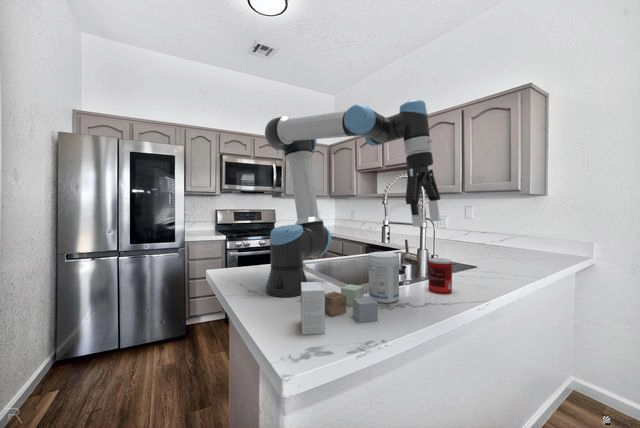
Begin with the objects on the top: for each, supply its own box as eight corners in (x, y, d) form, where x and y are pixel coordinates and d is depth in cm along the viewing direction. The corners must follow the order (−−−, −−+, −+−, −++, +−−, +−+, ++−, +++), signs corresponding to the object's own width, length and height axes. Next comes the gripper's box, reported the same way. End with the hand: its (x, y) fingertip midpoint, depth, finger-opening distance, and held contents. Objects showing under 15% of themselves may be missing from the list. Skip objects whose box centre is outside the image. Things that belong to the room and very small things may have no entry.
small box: (300, 321, 74) (300, 281, 73) (322, 320, 74) (321, 281, 74) (301, 335, 66) (300, 290, 65) (325, 334, 66) (324, 289, 66)
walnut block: (321, 312, 80) (321, 294, 80) (334, 308, 83) (334, 291, 83) (332, 317, 76) (332, 299, 76) (346, 313, 79) (346, 295, 79)
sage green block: (341, 303, 87) (340, 287, 87) (349, 299, 91) (349, 284, 91) (355, 307, 84) (354, 290, 84) (363, 302, 88) (362, 286, 88)
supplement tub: (388, 293, 97) (387, 250, 97) (405, 301, 88) (405, 255, 88) (363, 296, 94) (363, 252, 93) (378, 305, 85) (378, 257, 84)
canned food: (447, 287, 103) (447, 257, 102) (455, 294, 95) (455, 262, 94) (425, 287, 103) (425, 257, 103) (432, 294, 95) (432, 261, 95)
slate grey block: (353, 316, 77) (352, 298, 77) (370, 314, 78) (369, 296, 78) (359, 323, 72) (359, 304, 72) (377, 321, 73) (377, 302, 73)
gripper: (413, 147, 73) (423, 228, 73) (445, 153, 91) (453, 218, 92) (387, 154, 78) (396, 229, 78) (422, 158, 96) (430, 219, 97)
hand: (427, 223), depth 85 cm, fingers open, 13 cm apart
